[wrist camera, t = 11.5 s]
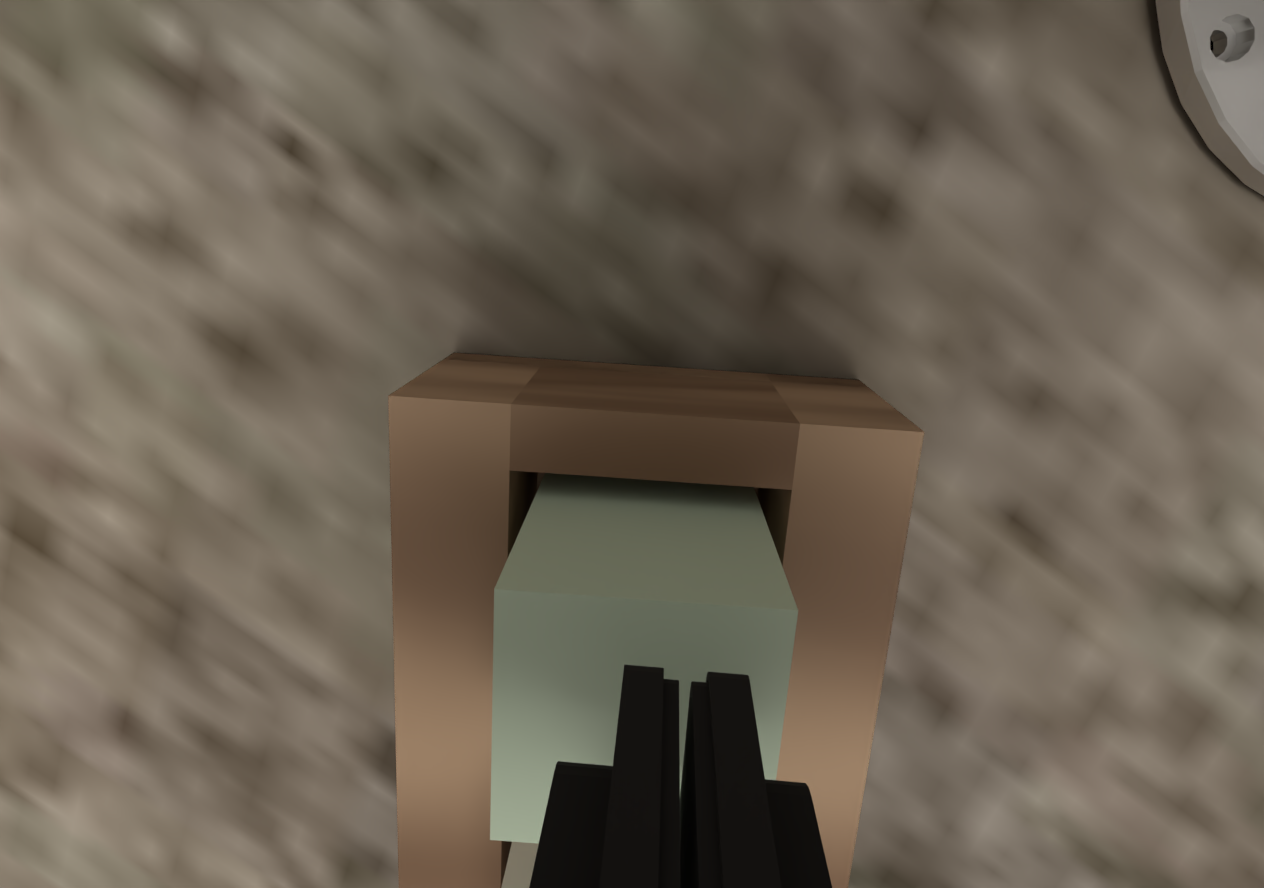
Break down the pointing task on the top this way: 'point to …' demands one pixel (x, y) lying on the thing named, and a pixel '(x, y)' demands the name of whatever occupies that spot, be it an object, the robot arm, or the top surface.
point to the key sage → (627, 623)
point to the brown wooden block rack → (649, 450)
